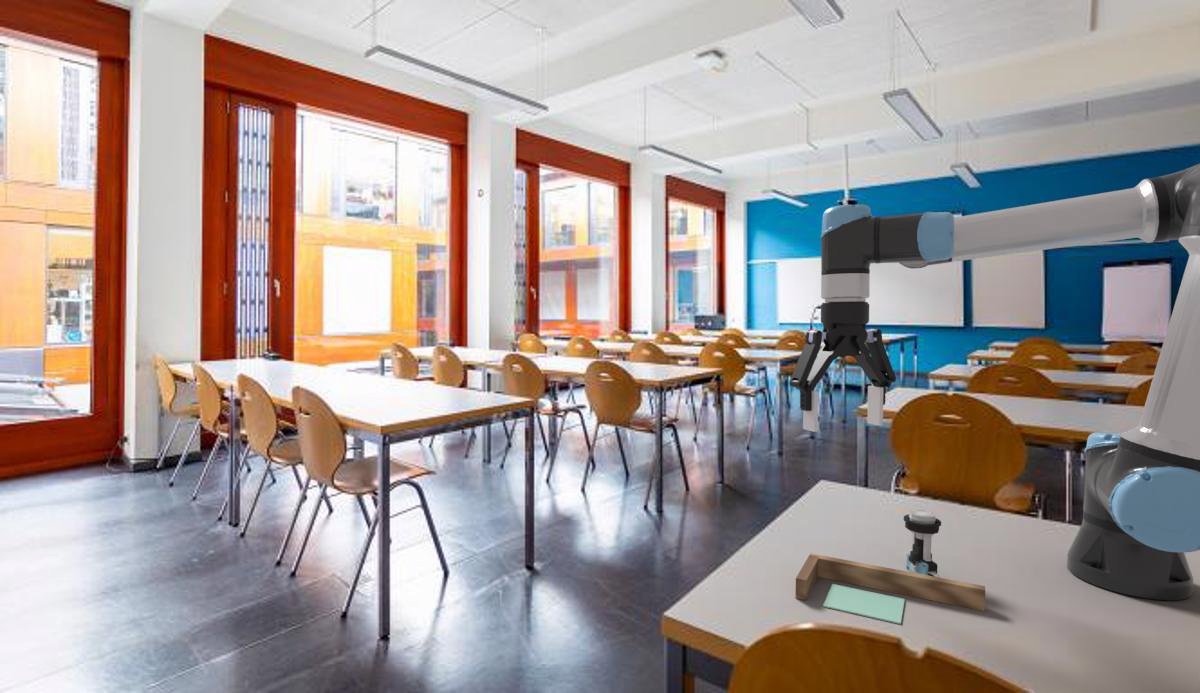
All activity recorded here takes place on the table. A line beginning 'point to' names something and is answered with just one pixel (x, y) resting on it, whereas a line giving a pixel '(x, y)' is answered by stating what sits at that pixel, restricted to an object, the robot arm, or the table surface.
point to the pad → (865, 603)
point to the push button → (921, 541)
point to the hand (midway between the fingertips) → (843, 427)
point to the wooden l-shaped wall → (888, 581)
